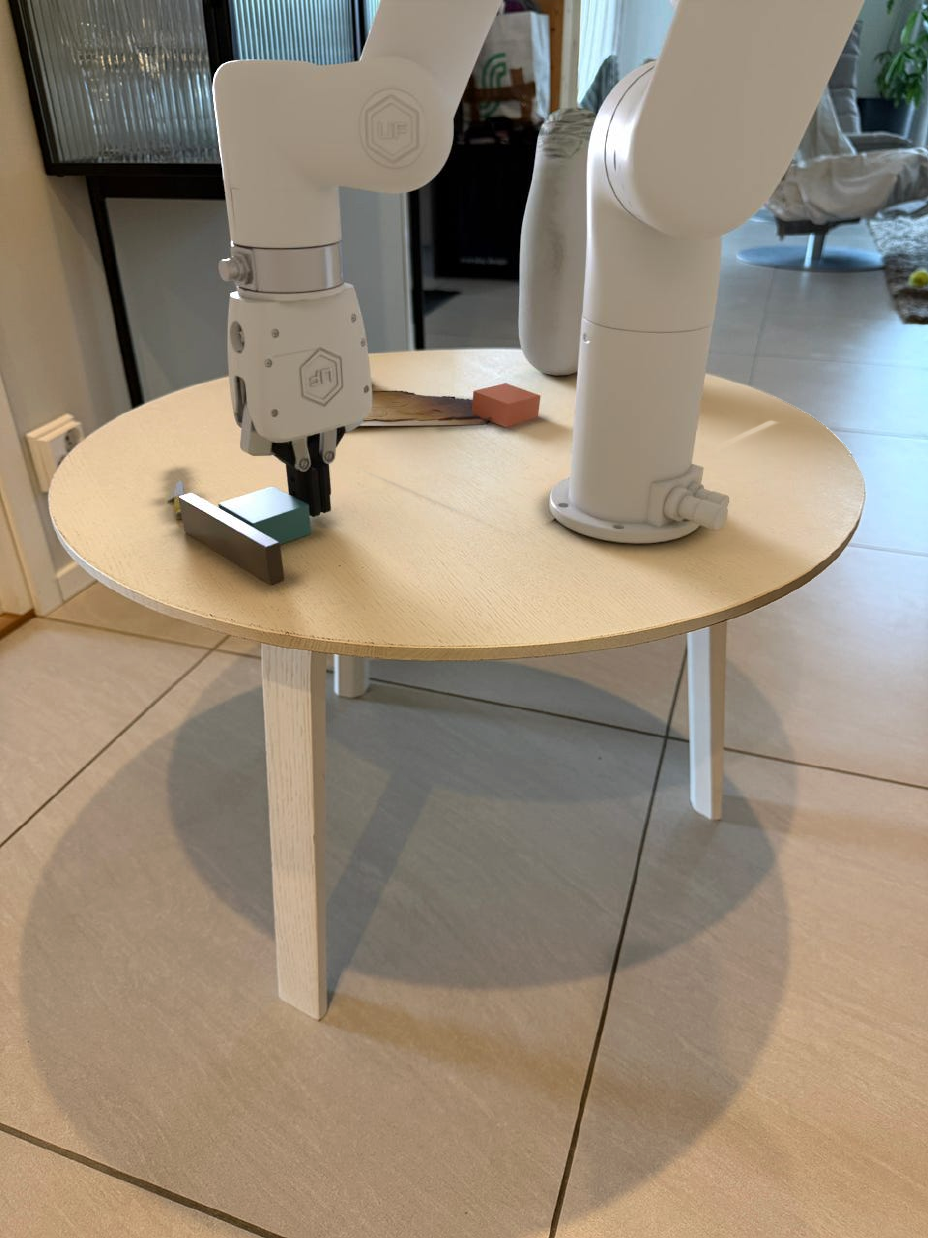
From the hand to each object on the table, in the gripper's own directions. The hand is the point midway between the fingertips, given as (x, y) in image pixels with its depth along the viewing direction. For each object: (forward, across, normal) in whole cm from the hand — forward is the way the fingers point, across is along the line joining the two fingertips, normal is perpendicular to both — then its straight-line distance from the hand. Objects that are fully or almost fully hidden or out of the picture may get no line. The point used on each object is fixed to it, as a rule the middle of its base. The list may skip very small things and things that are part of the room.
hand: (311, 508), depth 71 cm
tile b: (0, +29, +6) cm, 30 cm away
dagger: (+1, -6, +12) cm, 13 cm away
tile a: (+1, -4, 0) cm, 4 cm away
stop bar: (+1, -8, -1) cm, 8 cm away
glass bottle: (+1, +46, +13) cm, 48 cm away
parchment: (+1, +20, +16) cm, 26 cm away
